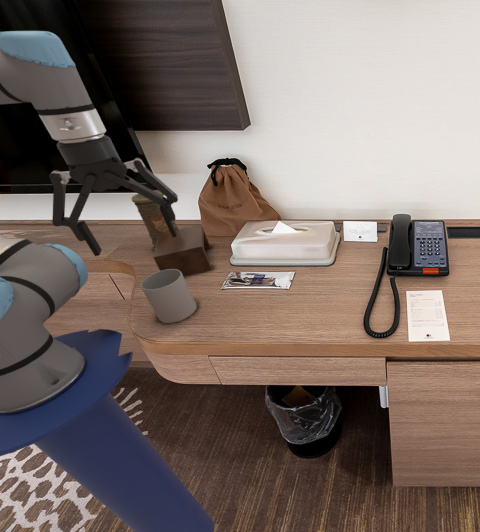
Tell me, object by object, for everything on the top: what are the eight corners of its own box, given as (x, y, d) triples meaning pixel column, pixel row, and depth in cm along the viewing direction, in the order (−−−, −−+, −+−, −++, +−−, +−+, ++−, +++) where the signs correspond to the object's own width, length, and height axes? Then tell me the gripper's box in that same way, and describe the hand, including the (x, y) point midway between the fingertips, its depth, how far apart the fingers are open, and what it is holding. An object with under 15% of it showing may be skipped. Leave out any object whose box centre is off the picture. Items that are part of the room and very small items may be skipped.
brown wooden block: (165, 281, 97) (153, 257, 92) (169, 255, 109) (158, 233, 105) (211, 269, 101) (201, 246, 97) (210, 246, 113) (201, 224, 109)
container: (148, 250, 112) (122, 198, 102) (171, 237, 119) (148, 188, 109) (169, 254, 109) (144, 201, 100) (191, 241, 117) (170, 190, 107)
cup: (197, 315, 84) (181, 282, 78) (158, 327, 81) (139, 294, 75) (195, 297, 90) (180, 265, 85) (159, 307, 87) (142, 275, 81)
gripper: (-24, 155, 52) (58, 270, 64) (163, 131, 62) (204, 234, 74) (-6, 145, 58) (67, 252, 69) (163, 124, 68) (201, 221, 79)
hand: (138, 243), depth 72 cm, fingers open, 13 cm apart
